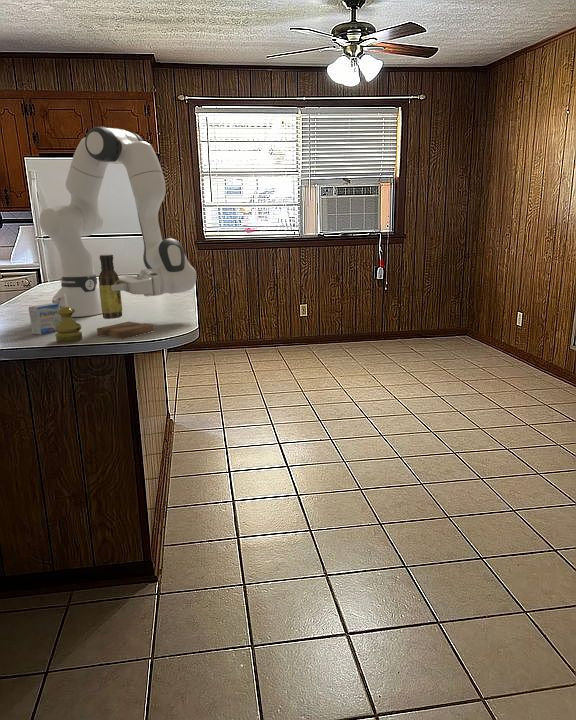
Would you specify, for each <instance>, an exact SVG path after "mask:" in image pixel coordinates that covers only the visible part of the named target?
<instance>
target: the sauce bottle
mask: <svg viewBox="0 0 576 720" xmlns="http://www.w3.org/2000/svg"><path fill="white" fill-rule="evenodd" d="M99 261H100V269H101V270H100V273H99V275H98V288H99V290H100V299H101V308H102V313H101V314H102V318H103V319H105V320H111V319H119V318H121V317H123V304H122V294H121V291H112V290H110V285H113V284H120V283H119V278H118V276H119V275H118V273H117V272H116V271H115V266H114V255H113V254H99Z"/></svg>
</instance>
